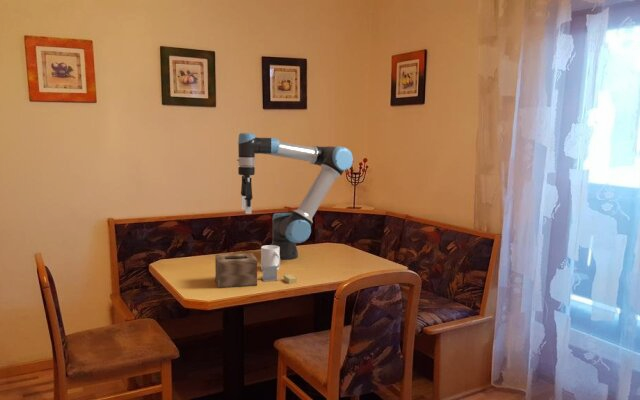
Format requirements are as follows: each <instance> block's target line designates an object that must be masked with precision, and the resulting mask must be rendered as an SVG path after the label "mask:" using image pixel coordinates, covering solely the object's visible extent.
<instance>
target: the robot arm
mask: <svg viewBox="0 0 640 400" xmlns="http://www.w3.org/2000/svg"><path fill="white" fill-rule="evenodd" d="M237 140H238V142H237V144H238V146H237V148H238V149H237V150H238V158H237V159H236V161H237V162H238V168H237V169H238V170H237V171H238V175H239V176H241V186H240V187H241V189H240V195H241V210H242V211H243V210H245V211H244V212H245V214H247V215H251V214H253V212H252V211H253V210H252V208H253V207H252V202H253V201H252V200H253V189H252V188H253V187H252V180H253V179H252V177H251V176H254V175H256V171H255V170H256V168H255V165H256V161H255V160H256V157H255V156H256V155H258V154H260V155H261V154H262V155H269V156H274V157H278V158H279V157H281V158H285V159H291V160H292V159H293V160H298V161H303V162H309V163H310V164H311V165H315V166H319V167H321V169H320V172H319V173H318V174H317V177H316V178H315V180H314V181H313V183H312V185H311V186H310V188H309V189H308V191H307V193H306V195H305V196H304V198H303V200H301V203H300V204H299V206H298V208H297V209H294V210H292V211H291V212H278V213H277V212H276V213H273V215H272V243H271V245H275V246H279V247H280V252H279V256H280V260H281V261H282V260H284V261H285V260H293V259H294V260H295V259H296V258H298V257H299V251H298V248H297V244H300V243H304V242H306V241H307V240H308V239H309V238H310V235H311V233H312V228H311V227H312V225H313V224H314V222H313V217H314V216H315V214H316V213H317V211H318V209H319V207H320V206H321V204H322V202H323V201H324V200H325V197H326V196H327V194H328V192H329V191H330V189H331V188H332V186H333V184H334V183H335V181H336V179H338V178H341V177H342V176H343V173H344V172H346V171H348V170H350V168H352V166H353V164H354V158H353V153H352V152H351V150H350V149H348V148H347V147H344V146H330V145H329V146H318V145H313V146H307V145H302V144H296V143H290V142H286V141H285V142H284V141H280V140H279V139H278V138H275V137H256V135H255V133H253V132H241V133H239V134H238V139H237Z"/></svg>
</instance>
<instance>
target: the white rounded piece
mask: <svg viewBox="0 0 640 400" xmlns="http://www.w3.org/2000/svg"><path fill="white" fill-rule="evenodd" d="M279 252H280V247H279V246H275V245H272V244H269V245H267V244H266V245H262V246H261V247H260V269H261V270H262V271H263V266H277V271H279V269H280V265H281V259H280V256H279Z"/></svg>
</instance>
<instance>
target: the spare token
mask: <svg viewBox="0 0 640 400" xmlns="http://www.w3.org/2000/svg"><path fill="white" fill-rule="evenodd" d="M297 279H298V278H297V276H295V275H293V274H292V273H289V274H283V281H285V282H286V283H288V284H290V285H291V284H297V282H298V280H297Z"/></svg>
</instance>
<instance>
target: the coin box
mask: <svg viewBox="0 0 640 400" xmlns="http://www.w3.org/2000/svg"><path fill="white" fill-rule="evenodd" d="M214 255H215V258H214V260H215V265H214V266H215V268H214V269H215V282H216V286H217V288H218V289H227V288H230V289H231V288H243V287H244V288H245V287H256V286H257V287H258V258H257V257H256V256H255V255H254V253H253V252H250V253H226V254H214Z"/></svg>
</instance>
